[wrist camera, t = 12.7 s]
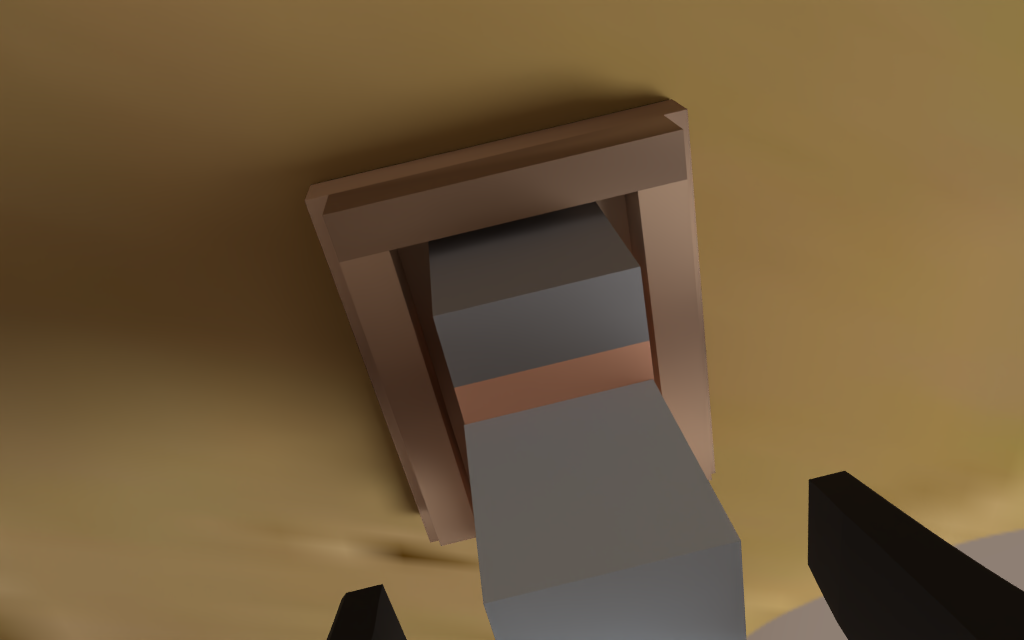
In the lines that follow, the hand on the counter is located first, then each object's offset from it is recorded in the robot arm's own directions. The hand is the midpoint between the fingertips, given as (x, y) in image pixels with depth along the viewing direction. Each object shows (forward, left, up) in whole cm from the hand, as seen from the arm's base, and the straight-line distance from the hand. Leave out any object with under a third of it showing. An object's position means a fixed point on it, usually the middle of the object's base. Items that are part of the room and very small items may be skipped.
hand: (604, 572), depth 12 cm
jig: (0, 0, -7) cm, 7 cm away
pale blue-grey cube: (0, 0, -2) cm, 2 cm away
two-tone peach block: (0, 0, -6) cm, 6 cm away
